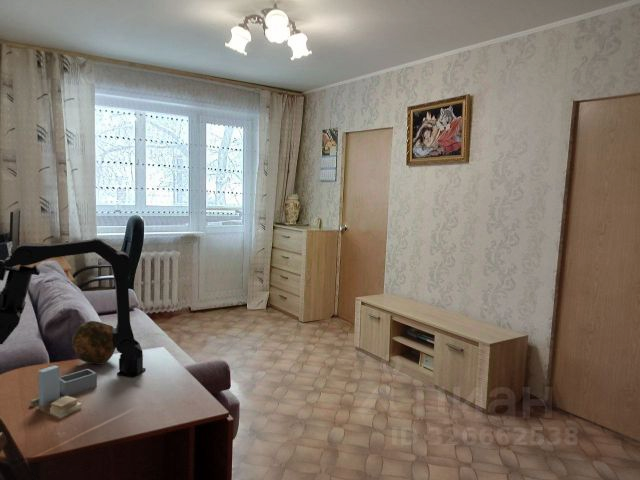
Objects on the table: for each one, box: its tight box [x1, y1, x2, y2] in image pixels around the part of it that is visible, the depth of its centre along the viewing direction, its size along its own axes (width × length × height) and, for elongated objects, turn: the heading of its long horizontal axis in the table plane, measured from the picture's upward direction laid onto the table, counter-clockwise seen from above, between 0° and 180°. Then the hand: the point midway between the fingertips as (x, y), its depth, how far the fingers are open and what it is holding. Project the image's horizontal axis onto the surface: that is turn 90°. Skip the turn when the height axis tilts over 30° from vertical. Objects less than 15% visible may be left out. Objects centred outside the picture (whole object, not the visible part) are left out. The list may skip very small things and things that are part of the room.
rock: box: [71, 320, 116, 365], centre depth 156 cm, size 13×13×15 cm
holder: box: [59, 368, 98, 397], centre depth 137 cm, size 9×5×5 cm, turn 144°
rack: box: [28, 395, 85, 420], centre depth 126 cm, size 7×14×3 cm, turn 62°
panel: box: [38, 365, 61, 406], centre depth 127 cm, size 4×2×10 cm, turn 152°
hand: (2, 338), depth 133 cm, fingers open, 9 cm apart
